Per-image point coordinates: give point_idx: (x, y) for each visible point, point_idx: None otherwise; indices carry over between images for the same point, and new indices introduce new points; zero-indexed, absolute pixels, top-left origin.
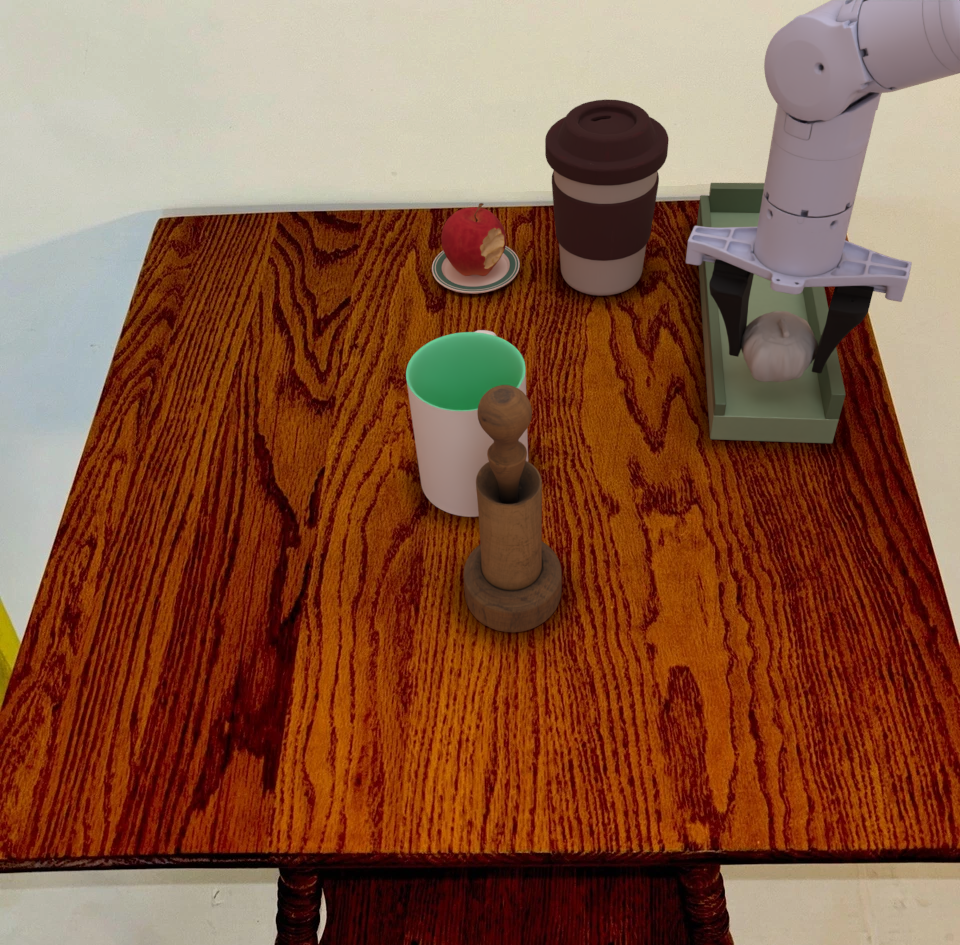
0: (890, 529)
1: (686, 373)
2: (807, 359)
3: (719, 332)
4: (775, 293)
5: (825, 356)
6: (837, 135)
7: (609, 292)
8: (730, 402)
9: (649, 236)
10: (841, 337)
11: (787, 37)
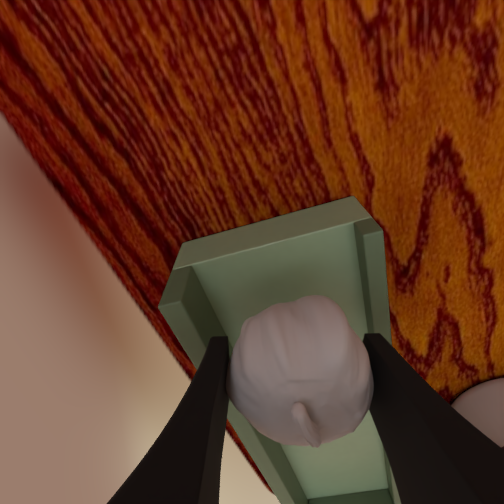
0: (33, 92)
1: (392, 301)
2: (238, 358)
3: None
4: None
5: (202, 373)
6: None
7: (493, 384)
8: (345, 254)
9: None
10: (159, 441)
11: None
